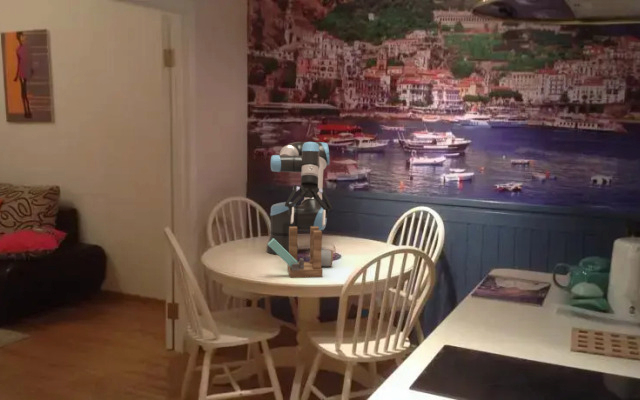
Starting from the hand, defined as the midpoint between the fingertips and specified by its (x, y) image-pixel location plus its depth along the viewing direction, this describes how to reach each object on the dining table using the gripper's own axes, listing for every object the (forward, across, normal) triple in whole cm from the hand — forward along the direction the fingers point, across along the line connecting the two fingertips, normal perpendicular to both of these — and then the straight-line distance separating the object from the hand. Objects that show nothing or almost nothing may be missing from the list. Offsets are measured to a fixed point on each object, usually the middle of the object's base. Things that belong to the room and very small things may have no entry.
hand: (307, 224), depth 262 cm
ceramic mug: (+15, +9, +13) cm, 21 cm away
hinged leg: (+19, -4, -2) cm, 20 cm away
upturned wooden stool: (+20, 0, +2) cm, 21 cm away
